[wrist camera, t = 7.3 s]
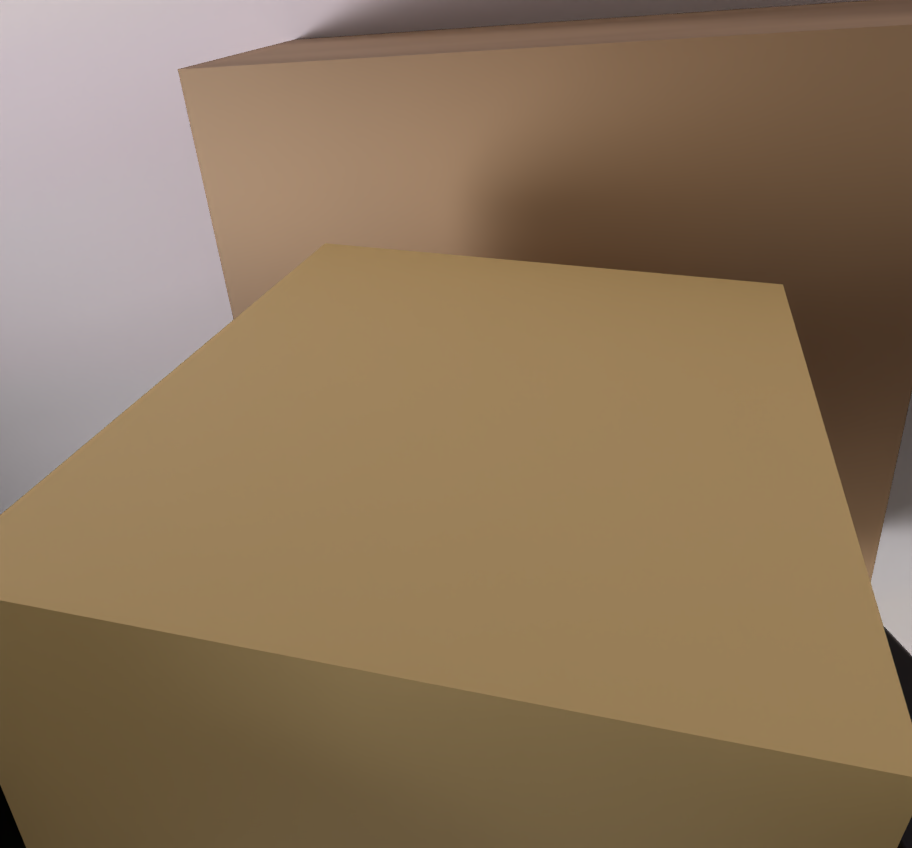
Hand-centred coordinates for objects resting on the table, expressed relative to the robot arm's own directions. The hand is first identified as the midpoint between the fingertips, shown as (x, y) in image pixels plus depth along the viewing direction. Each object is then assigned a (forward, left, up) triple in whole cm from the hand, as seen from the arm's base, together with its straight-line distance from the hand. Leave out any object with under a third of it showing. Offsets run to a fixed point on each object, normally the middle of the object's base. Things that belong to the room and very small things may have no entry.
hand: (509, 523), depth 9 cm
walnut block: (0, 0, -7) cm, 7 cm away
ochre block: (0, 0, -1) cm, 1 cm away
